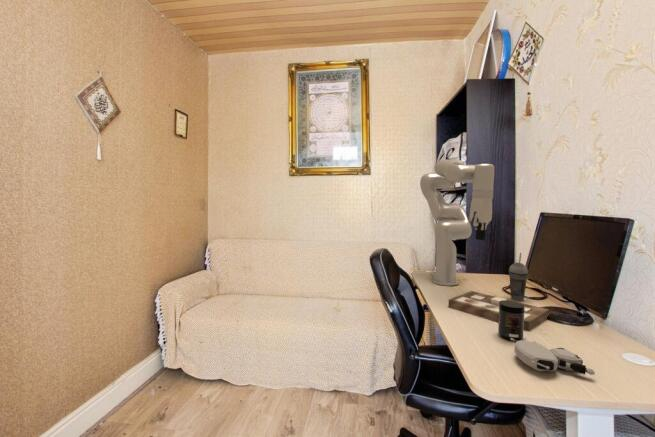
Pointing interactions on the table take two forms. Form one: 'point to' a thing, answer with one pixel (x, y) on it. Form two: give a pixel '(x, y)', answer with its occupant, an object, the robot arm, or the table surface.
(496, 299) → the middle button
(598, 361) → the table surface
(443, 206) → the robot arm
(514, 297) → the beverage cup
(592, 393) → the table surface
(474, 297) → the button
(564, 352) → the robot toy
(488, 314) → the button board
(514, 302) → the supplement container
